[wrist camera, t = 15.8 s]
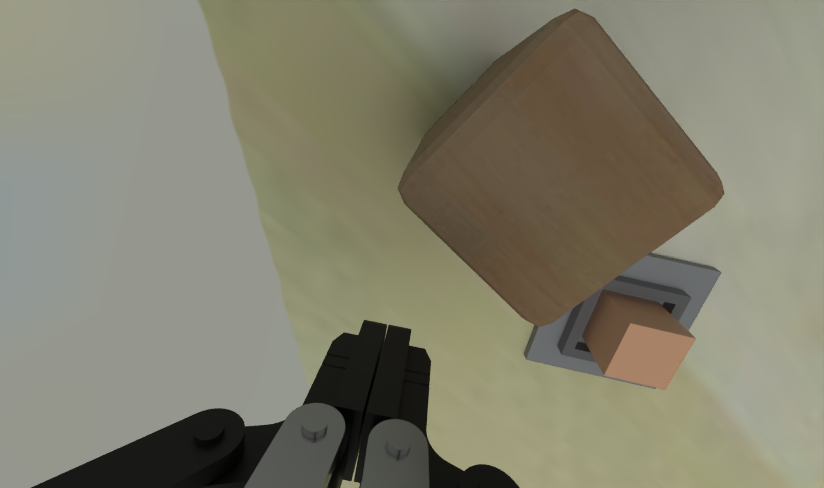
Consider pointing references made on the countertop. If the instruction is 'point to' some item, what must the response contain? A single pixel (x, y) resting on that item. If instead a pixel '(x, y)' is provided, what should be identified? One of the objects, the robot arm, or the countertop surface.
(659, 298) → the socket board
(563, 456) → the countertop surface
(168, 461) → the robot arm
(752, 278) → the countertop surface
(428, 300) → the countertop surface
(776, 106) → the countertop surface
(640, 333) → the brick
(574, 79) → the wooden block
